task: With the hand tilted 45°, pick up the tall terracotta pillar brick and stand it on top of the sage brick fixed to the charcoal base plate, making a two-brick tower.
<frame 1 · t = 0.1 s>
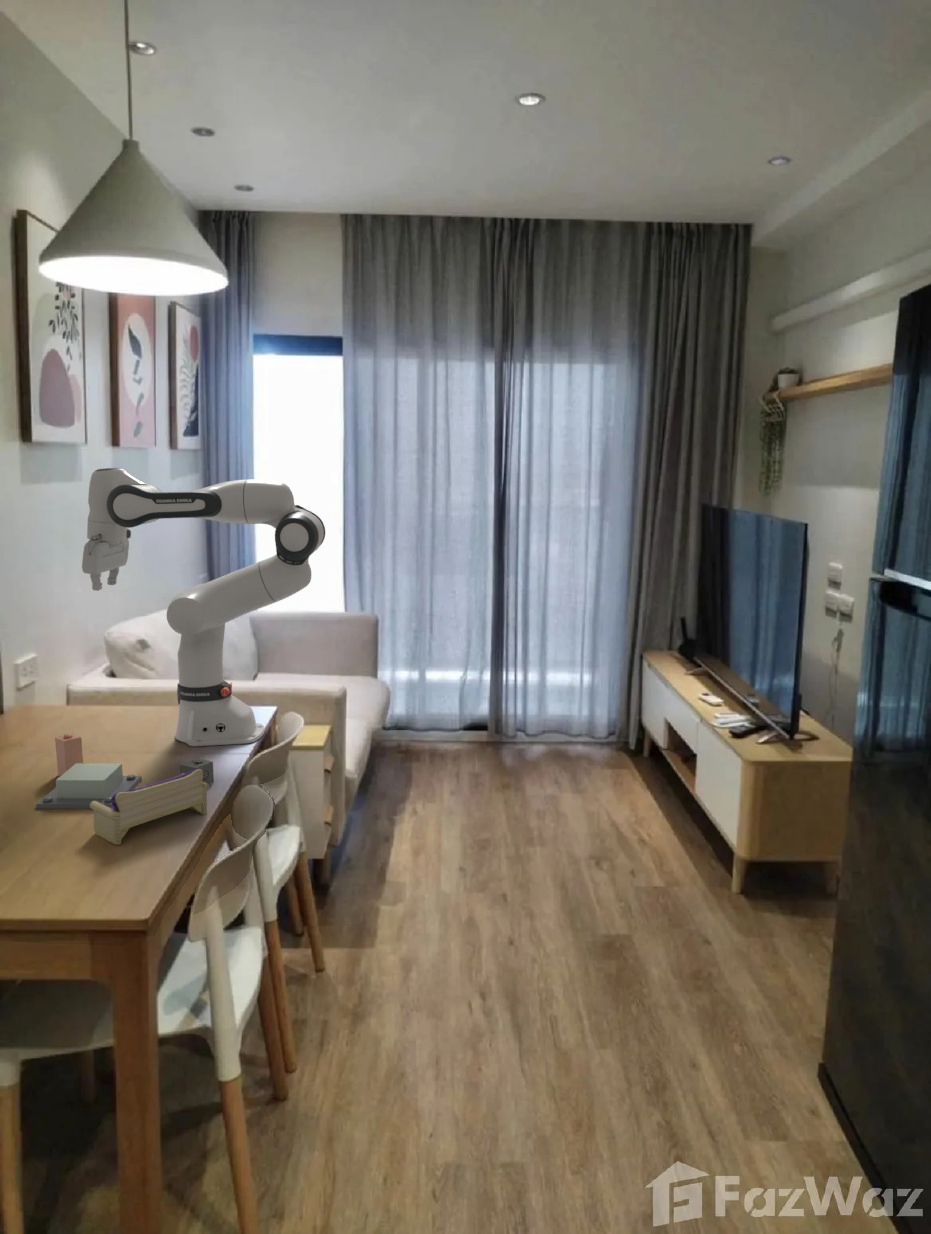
hand: (104, 587, 216), 39 cm above the table, tool pointing down, fingers open, 8 cm apart
pillar brick: (71, 775, 195), on the table
tower base: (91, 793, 185), on the table
dice cube: (197, 785, 191), on the table
toy sofa: (152, 825, 170), on the table
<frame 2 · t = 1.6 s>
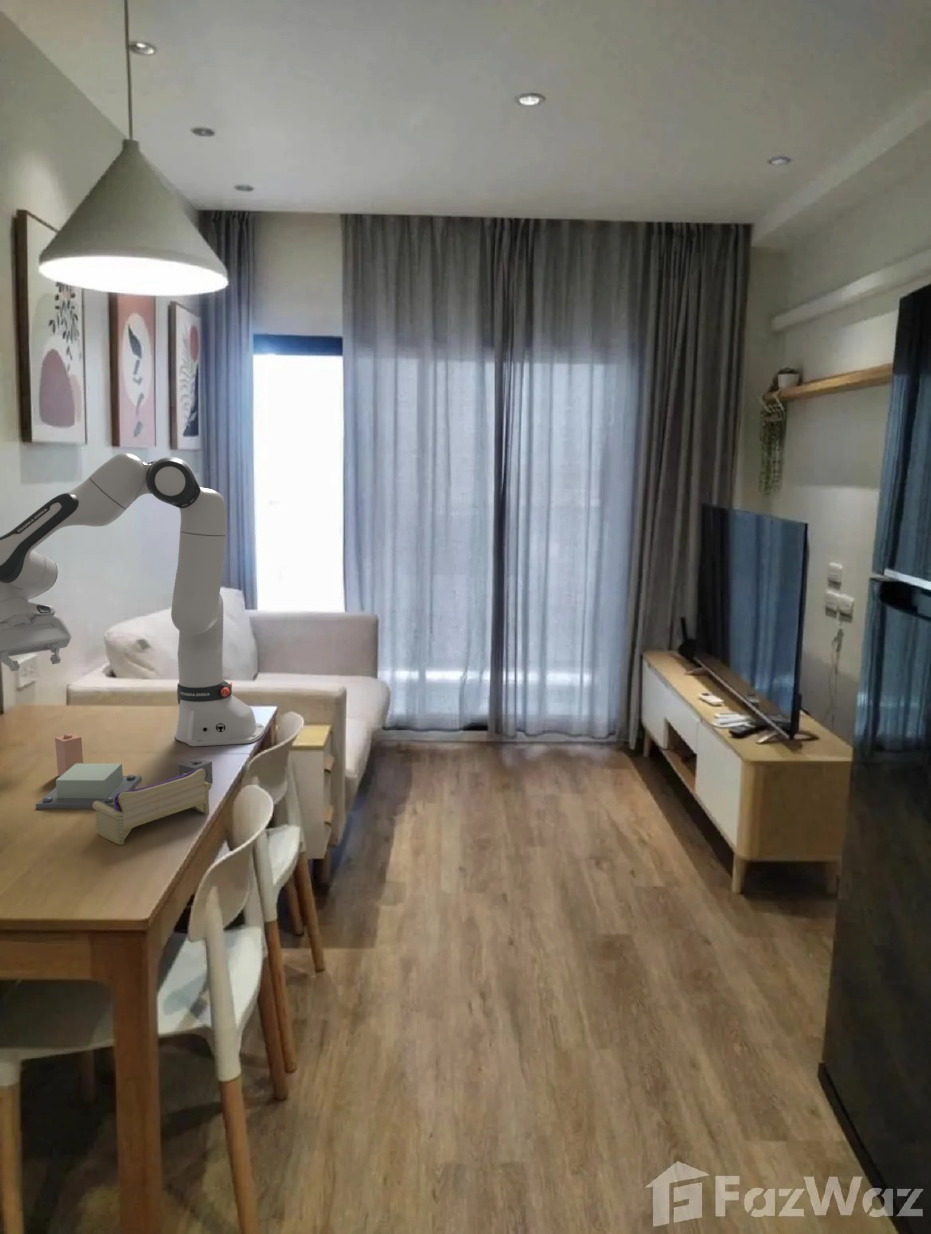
hand: (36, 666, 199), 23 cm above the table, tool tilted 45°, fingers open, 8 cm apart
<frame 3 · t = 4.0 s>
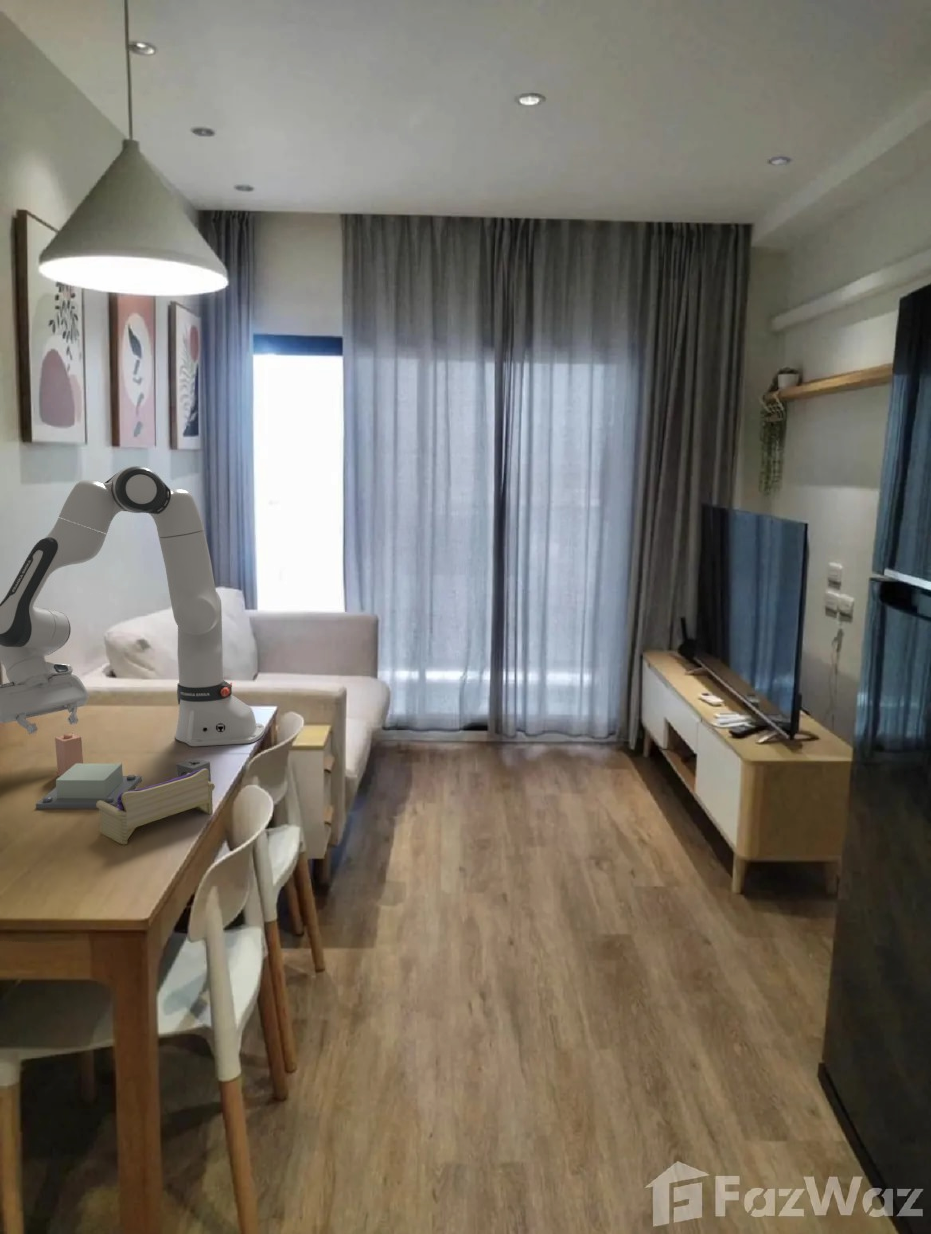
hand: (54, 727, 197), 10 cm above the table, tool tilted 45°, fingers open, 8 cm apart
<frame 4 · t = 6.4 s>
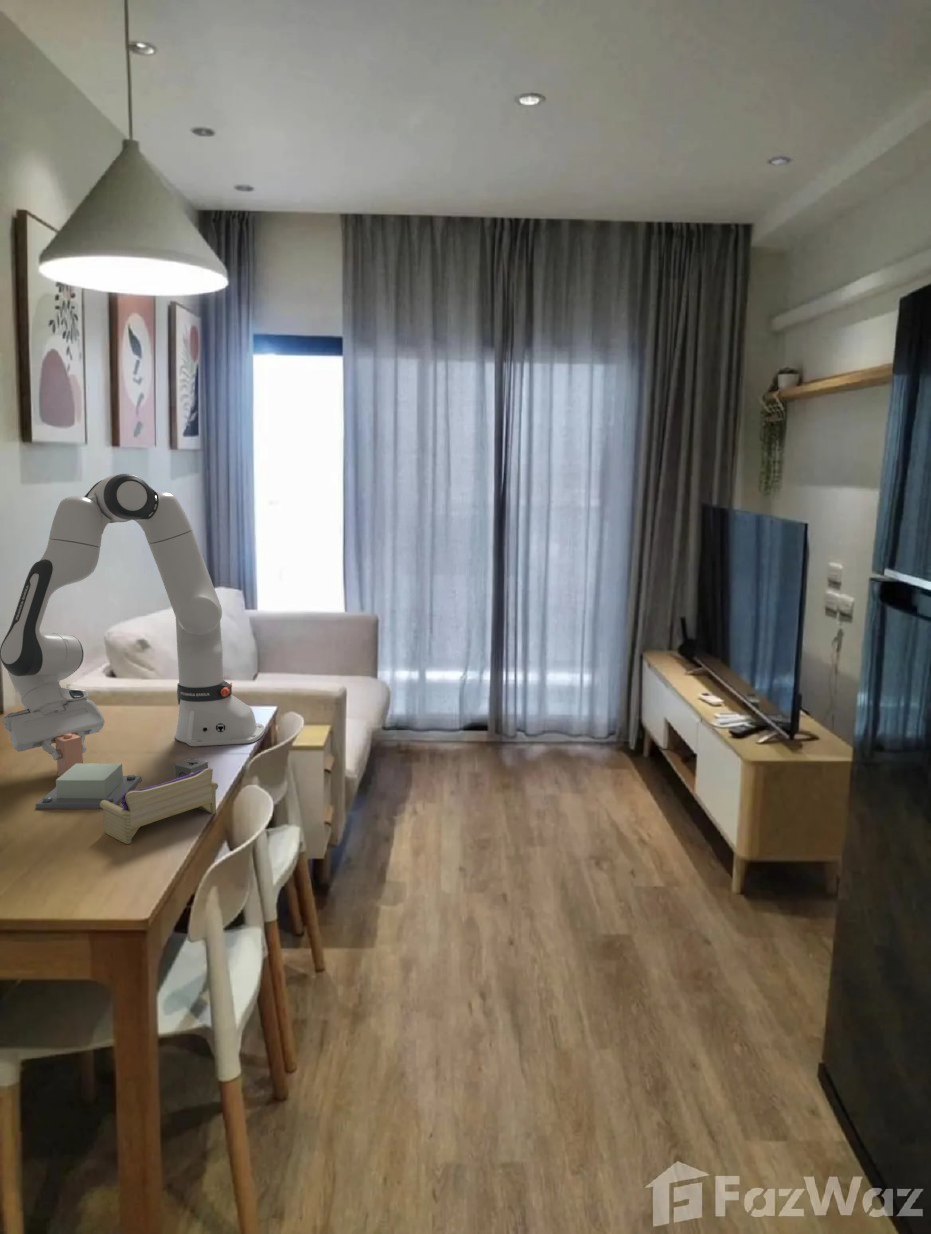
hand: (70, 755, 194), 5 cm above the table, tool tilted 45°, fingers closed on pillar brick, 4 cm apart
pillar brick: (71, 775, 195), on the table, touching gripper
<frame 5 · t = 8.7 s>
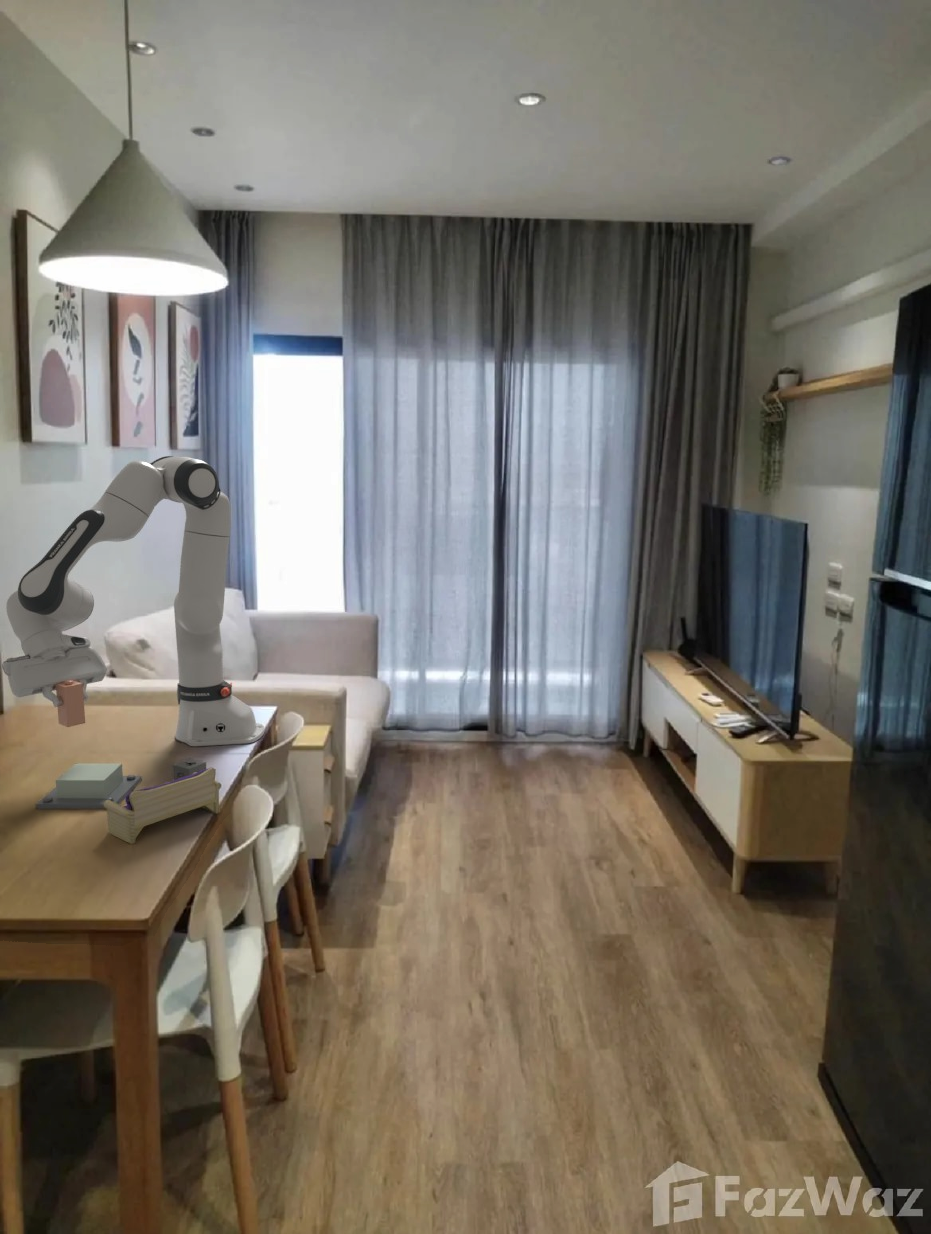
hand: (72, 702, 188), 18 cm above the table, tool tilted 45°, fingers closed on pillar brick, 4 cm apart
pillar brick: (72, 723, 189), point 13 cm above the table, touching gripper
when the fingers open (11 cm above the table, at t = 11.3 s): pillar brick drops 1 cm, resting on tower base.
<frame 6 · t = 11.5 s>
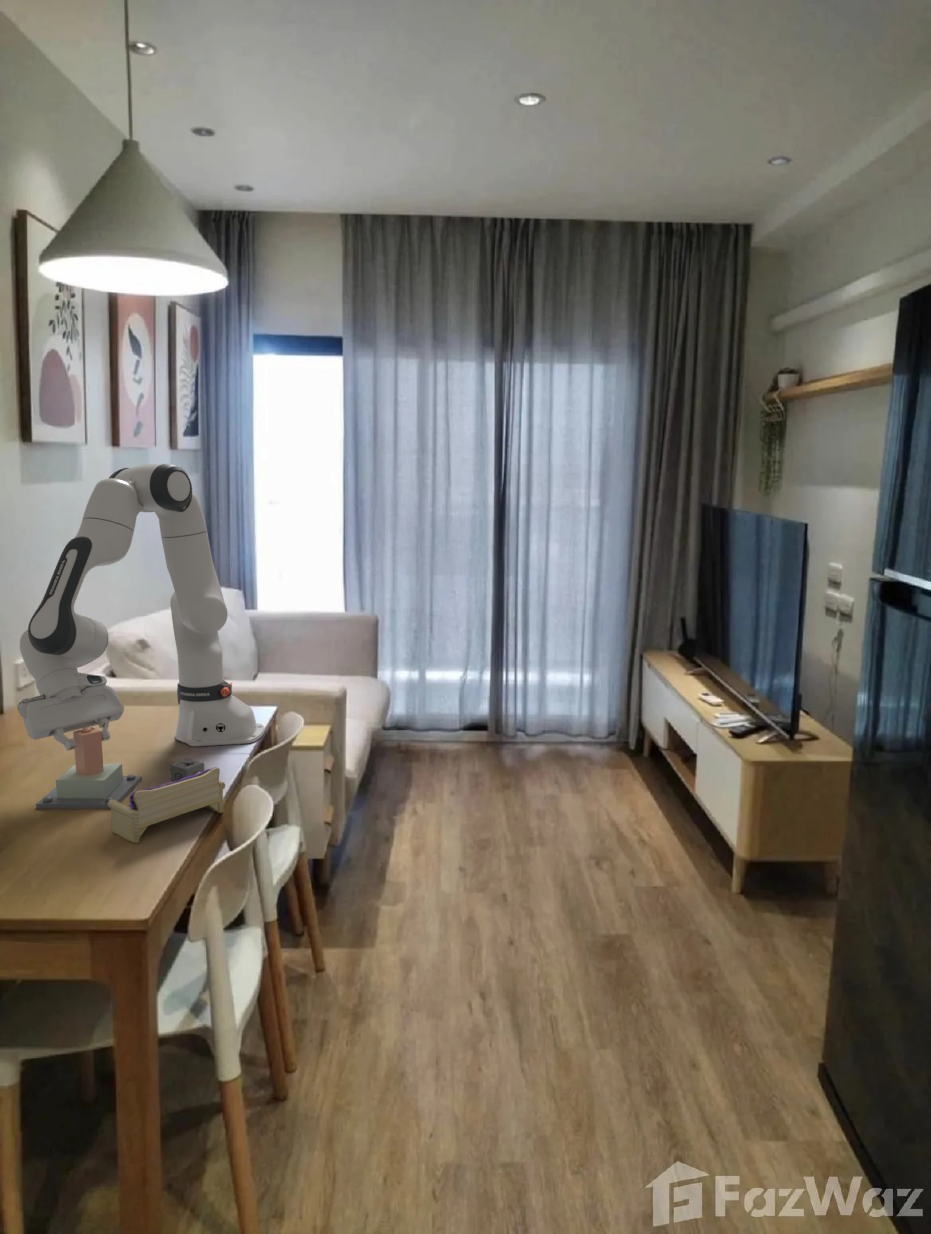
hand: (89, 743, 182), 11 cm above the table, tool tilted 45°, fingers open, 6 cm apart
pillar brick: (89, 771, 184), point 5 cm above the table, touching tower base
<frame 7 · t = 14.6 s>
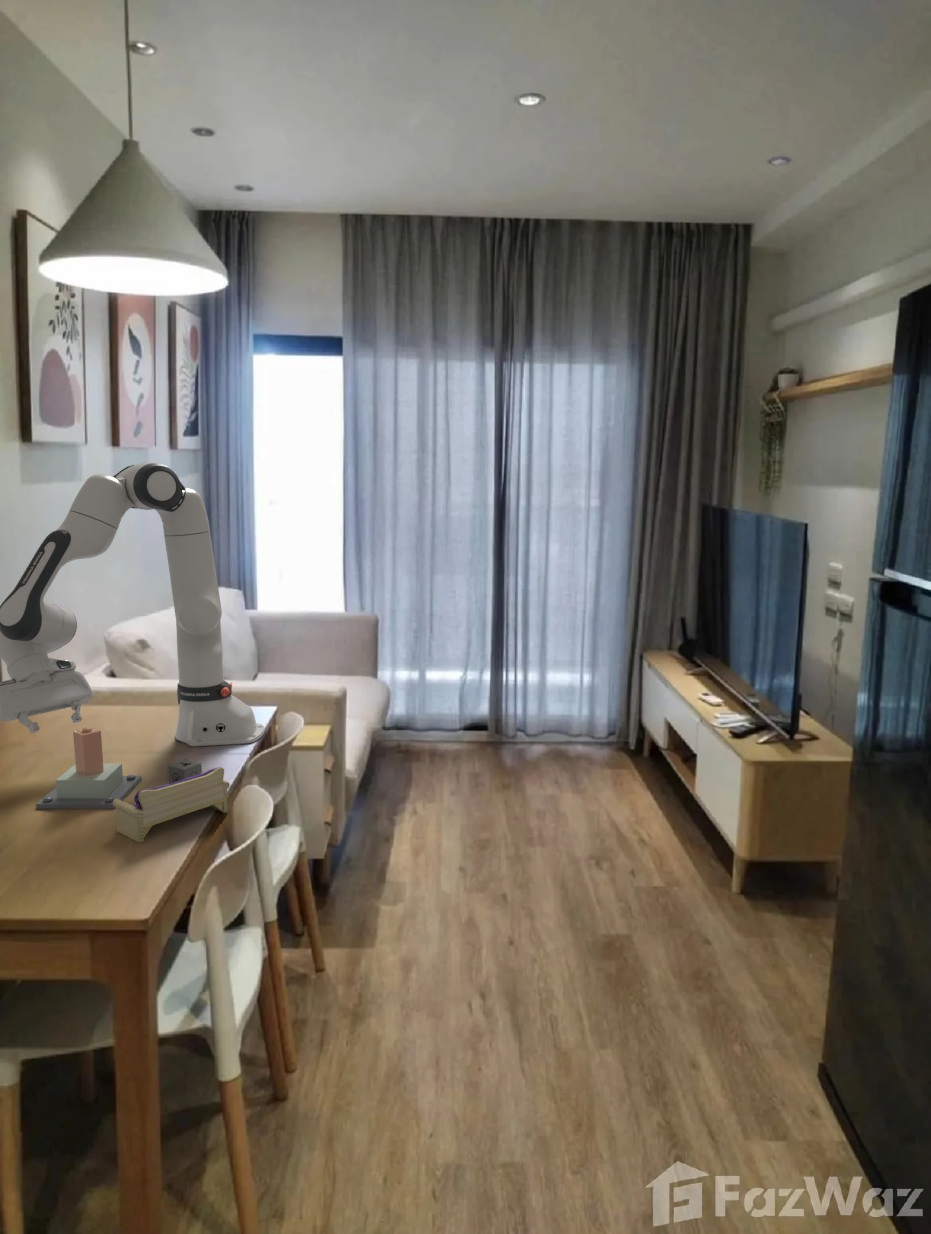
hand: (57, 726, 190), 12 cm above the table, tool tilted 45°, fingers open, 8 cm apart
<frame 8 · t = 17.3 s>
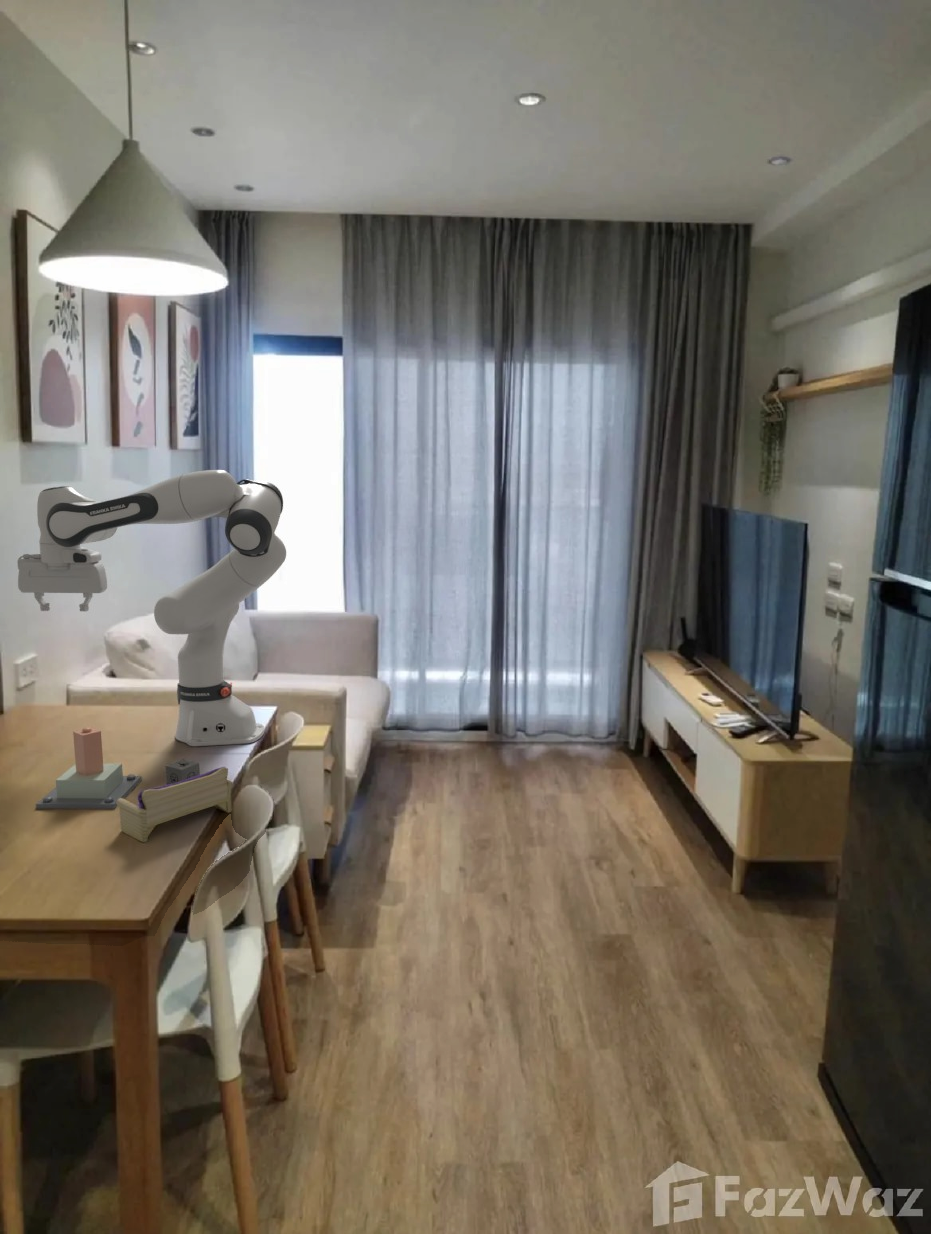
hand: (64, 610, 209), 34 cm above the table, tool pointing down, fingers open, 8 cm apart
at the end: pillar brick 0.0 cm off-centre on the tower base, point 5.0 cm above the tower base's base; pillar brick tilted 0°; the gripper is holding nothing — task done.
